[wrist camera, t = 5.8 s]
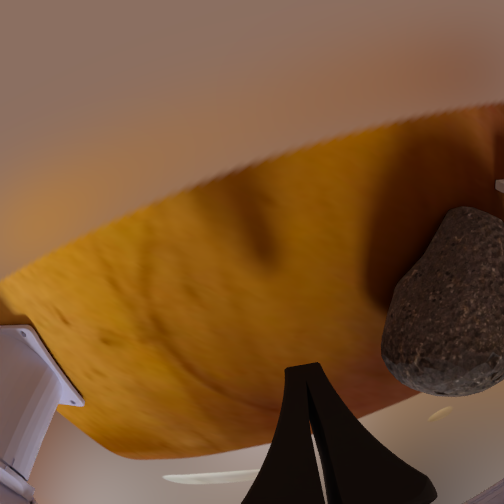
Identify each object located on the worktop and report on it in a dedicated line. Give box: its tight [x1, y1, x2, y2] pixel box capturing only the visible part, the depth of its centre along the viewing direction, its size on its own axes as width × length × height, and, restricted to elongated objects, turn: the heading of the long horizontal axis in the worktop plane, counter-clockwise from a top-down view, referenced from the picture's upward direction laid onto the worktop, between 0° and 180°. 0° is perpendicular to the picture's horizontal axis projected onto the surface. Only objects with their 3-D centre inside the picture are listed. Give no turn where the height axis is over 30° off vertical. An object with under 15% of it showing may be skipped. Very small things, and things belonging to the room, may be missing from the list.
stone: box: [381, 206, 504, 397], centre depth 12 cm, size 10×8×10 cm
